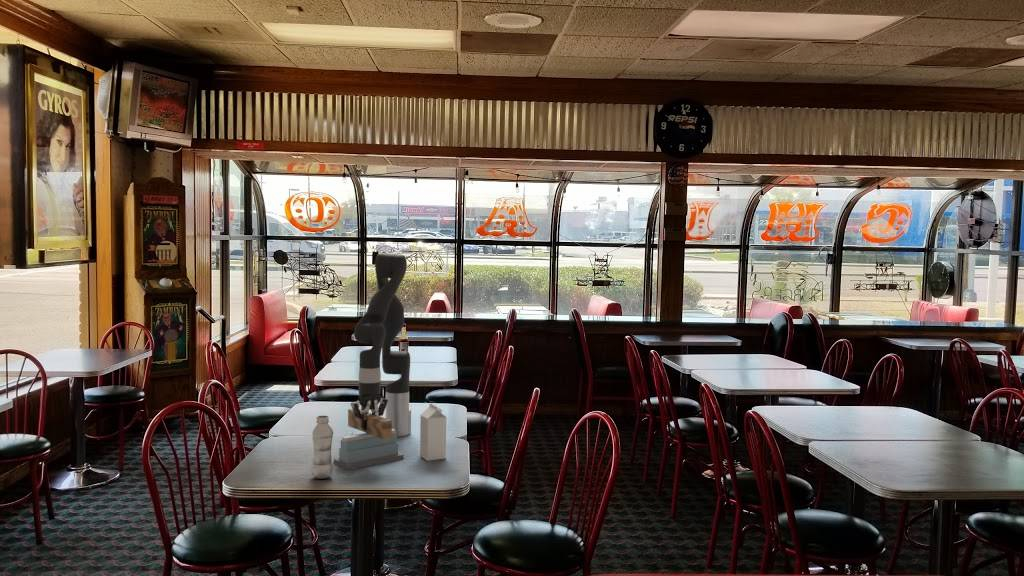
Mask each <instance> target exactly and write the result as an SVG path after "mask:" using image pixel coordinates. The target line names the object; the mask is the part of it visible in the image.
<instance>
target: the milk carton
mask: <svg viewBox="0 0 1024 576" xmlns="http://www.w3.org/2000/svg"><path fill="white" fill-rule="evenodd" d="M419 428H420V432H419V433H420V434H419V436H420V437H419V438H420V441H419V442H420V443H419V445H420V447H419V448H420V449H419V451H420V452H419V456H420V457H421V458H422V459H424V460H426V462H429V461H436V460H437V461H438V460H446V458H447V416H446V415H445V414H443V410H442V408H440V407H438V406H437V405H435V404H433V403H431V402H429V406H428V407H427V408H426V409H425V410H424V411H423V412H422V413H421V414H420V427H419Z"/></svg>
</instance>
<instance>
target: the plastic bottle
mask: <svg viewBox="0 0 1024 576" xmlns="http://www.w3.org/2000/svg"><path fill="white" fill-rule="evenodd" d="M315 423H316V425H315V427H314V428H313V430H312V432H311V434H312V435H311V436H312V443H313V458H312V465H311V475H312V477H313V478H314V479H316V480H317V479H318V480H319V479H320V480H321V479H322V480H323V479H328V478H330V477H331V476H332V475H333V470H334V469H333V463H332V444H333V436H334V431H333V429H332V427H331V426H330V425H329V423H330V421H329V416H328V415H317V416H316V422H315Z"/></svg>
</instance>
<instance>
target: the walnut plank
mask: <svg viewBox="0 0 1024 576" xmlns="http://www.w3.org/2000/svg"><path fill="white" fill-rule="evenodd" d="M359 410H361V408H359ZM360 413H361V411H360ZM366 420H367V430H366V431H364V430H362V429H361V419H359V418H356V417H355V414H354V411H353V409H352V408H348V410H347V426H348V427H350V428H351V429H352V428H353V429H356V430H357V431H361V432H363V433H368V434H371V435H373V436H376V437H378V438H381V439H389V438H392V420H389V419H386V417H383V416H377V415H374V414H372V412H370V411H369V412H368V414H367V419H366Z"/></svg>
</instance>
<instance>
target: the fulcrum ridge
mask: <svg viewBox="0 0 1024 576" xmlns="http://www.w3.org/2000/svg"><path fill="white" fill-rule="evenodd" d="M338 451H339V453H338V457H337V458H335V457H334V458H333V464H335V465H337V466H338V467H341V468H343V469H345V470H347V469H348V470H349V469H350V470H353V468H355V469H359V467H360V468H364V466H365V467H369V466H370V467H371V466H374V465H379V464H380V465H381V464H384V463H389V462H394V461H400V460H404V459H405V454H403V453H401V452H399V442H398V437H397V434H396V430H394V429H392V438H389V439H381V438H378V437H376V436H373V435H371V434H368V433H365V432H363V433H358V434H352V435H347V436H341V439H340V447H339V450H338ZM350 470H349V471H350Z"/></svg>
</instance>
